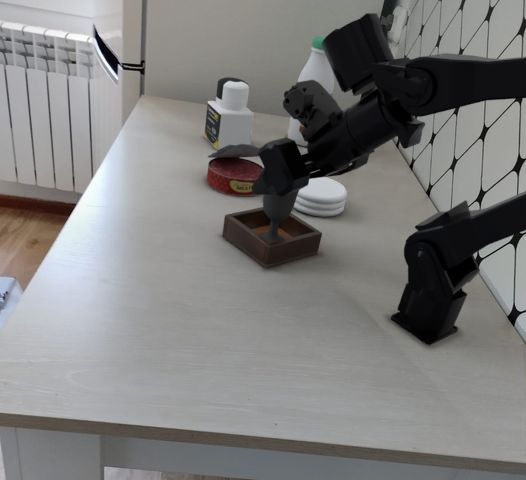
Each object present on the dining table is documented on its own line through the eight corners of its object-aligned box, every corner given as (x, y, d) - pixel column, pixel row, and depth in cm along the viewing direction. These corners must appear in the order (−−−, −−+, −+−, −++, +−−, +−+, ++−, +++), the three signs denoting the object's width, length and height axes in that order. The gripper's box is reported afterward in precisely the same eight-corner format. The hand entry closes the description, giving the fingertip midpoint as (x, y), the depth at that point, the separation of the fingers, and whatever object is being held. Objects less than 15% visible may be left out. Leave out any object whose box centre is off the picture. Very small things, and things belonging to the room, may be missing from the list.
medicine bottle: (203, 136, 118) (209, 73, 111) (236, 137, 121) (243, 75, 114) (216, 150, 113) (223, 85, 106) (249, 150, 116) (259, 86, 109)
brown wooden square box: (317, 254, 86) (322, 232, 84) (265, 269, 80) (269, 246, 78) (273, 224, 92) (277, 203, 90) (221, 236, 86) (224, 214, 84)
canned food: (207, 213, 102) (184, 158, 96) (229, 188, 109) (209, 136, 103) (265, 202, 96) (244, 143, 91) (284, 176, 104) (265, 120, 98)
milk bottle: (282, 141, 124) (301, 37, 111) (291, 132, 130) (310, 32, 118) (317, 150, 123) (340, 46, 110) (325, 140, 129) (347, 40, 116)
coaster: (296, 217, 95) (300, 197, 93) (278, 191, 102) (282, 172, 100) (352, 218, 98) (357, 198, 96) (330, 193, 106) (335, 174, 103)
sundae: (264, 256, 82) (283, 150, 73) (240, 234, 86) (255, 131, 77) (302, 249, 85) (325, 147, 76) (277, 228, 89) (296, 129, 80)
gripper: (372, 58, 75) (289, 119, 86) (285, 70, 62) (201, 139, 74) (407, 140, 76) (321, 189, 88) (329, 167, 64) (240, 221, 75)
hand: (274, 183), depth 81 cm, fingers open, 9 cm apart
